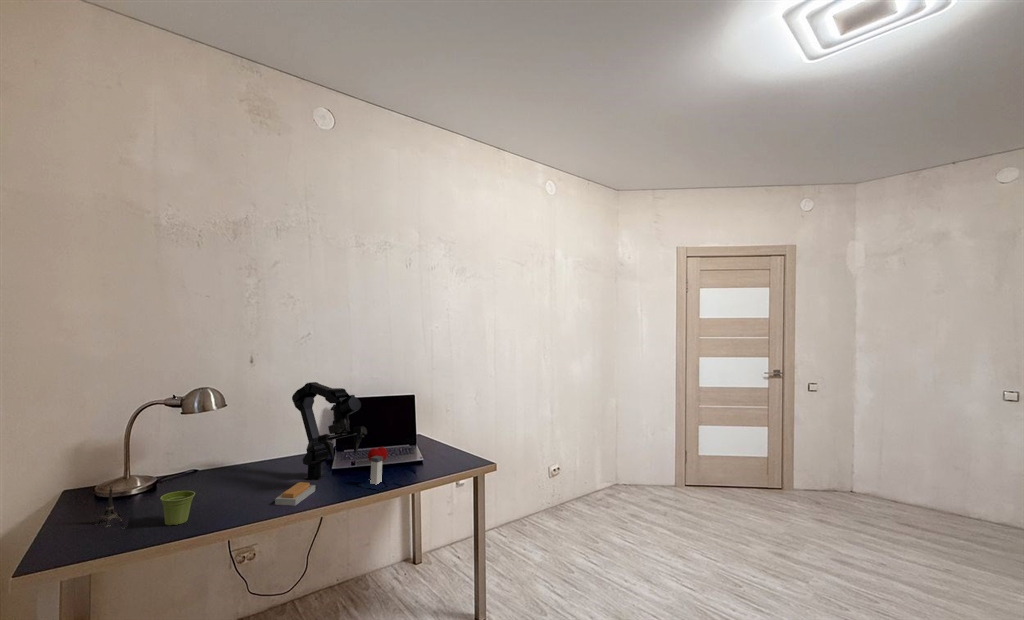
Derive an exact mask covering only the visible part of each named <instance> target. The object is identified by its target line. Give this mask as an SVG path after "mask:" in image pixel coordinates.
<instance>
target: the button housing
mask: <svg viewBox="0 0 1024 620" xmlns="http://www.w3.org/2000/svg"><path fill="white" fill-rule="evenodd" d="M316 487H317V486H316V484H309V488H308V489H306V490H305V491H303V492H302V493H301V494H299V495H298V496H296V497H295V498H282V493H281V494H279V496H277V497H276V498H274V505H275V506H293V507H294V506H296V505H298V504H299V503H300V502H302V501H303V500H305V499H306V498H308V497H309V496H311V494H313V493H315V491H316Z"/></svg>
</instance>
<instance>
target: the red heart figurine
mask: <svg viewBox="0 0 1024 620" xmlns="http://www.w3.org/2000/svg"><path fill="white" fill-rule="evenodd" d="M367 453H368V454H367V459H368V460H369V461H370V462H371V457H374V456H382V457H383V461H382V463H383V462H385V461H386V459H387V457H388V450H387V448H385V447H384V446H380V447H378V448H376V447H375V448H374V447H373V448H370V450H369V451H368V452H367Z"/></svg>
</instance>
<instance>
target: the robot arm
mask: <svg viewBox="0 0 1024 620" xmlns="http://www.w3.org/2000/svg"><path fill="white" fill-rule="evenodd" d="M317 395H318V396H320V397H323V398H324V399H325V401H326V402H327V403H329V404H333V405H332V406H331V407H330V411H331V412H332V414H333V420H332V424H330V425H328V432H329V433H324V434H320V431H319V427H318V424H317V421H316V417H315V414H314V410H313V406H314V403H315V398H316V397H317ZM291 399H292V402H293V405H294V407H295V409H297V410H298V411H299V412H300V415H301V419H302V421H303V422H302V423H303V426H304V430H305V435H306V436H307V442H308V443H307V445H306V446H307V447H306V454H305V455H304V456H303V458H302V464H303V465H306V466H307V474H306V476H304V477H303V479H304V480H318V481H319V480H320V479H321V478H323V477H324V476H325V473H323V463H326V462H328V458H329V456H330V459H331V460H334V459H335V452H334V448H335V447H334V442H333V440H337V439H342V438H346V437H351V436H352V439H353V453H354V455H356V454H357V453H358V449H359V447H360V443H361V442H362V439H363V438H365V435H367V434H368V429H367V428H366V426H363V425H357V426H354V427H352V429H350V422H351V421H350V420H349V415H352V414H354V413H355V412H357V411H359V410H360V409H361V407H362V402H361V401H360V399H359V398H357V397H356V396H355V394H349V393H348V392H347V390H346V389H345V388H341V387H340V388H339V387H338V388H337V387H336V388H334V387H330V386H327V385H325V384H320V383H319V382H316V381H311V382H306V383H305V384H304V385H303V386H302V387H300V388H298V389H297V390H296V391H294V393H293V394H292V397H291Z"/></svg>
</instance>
